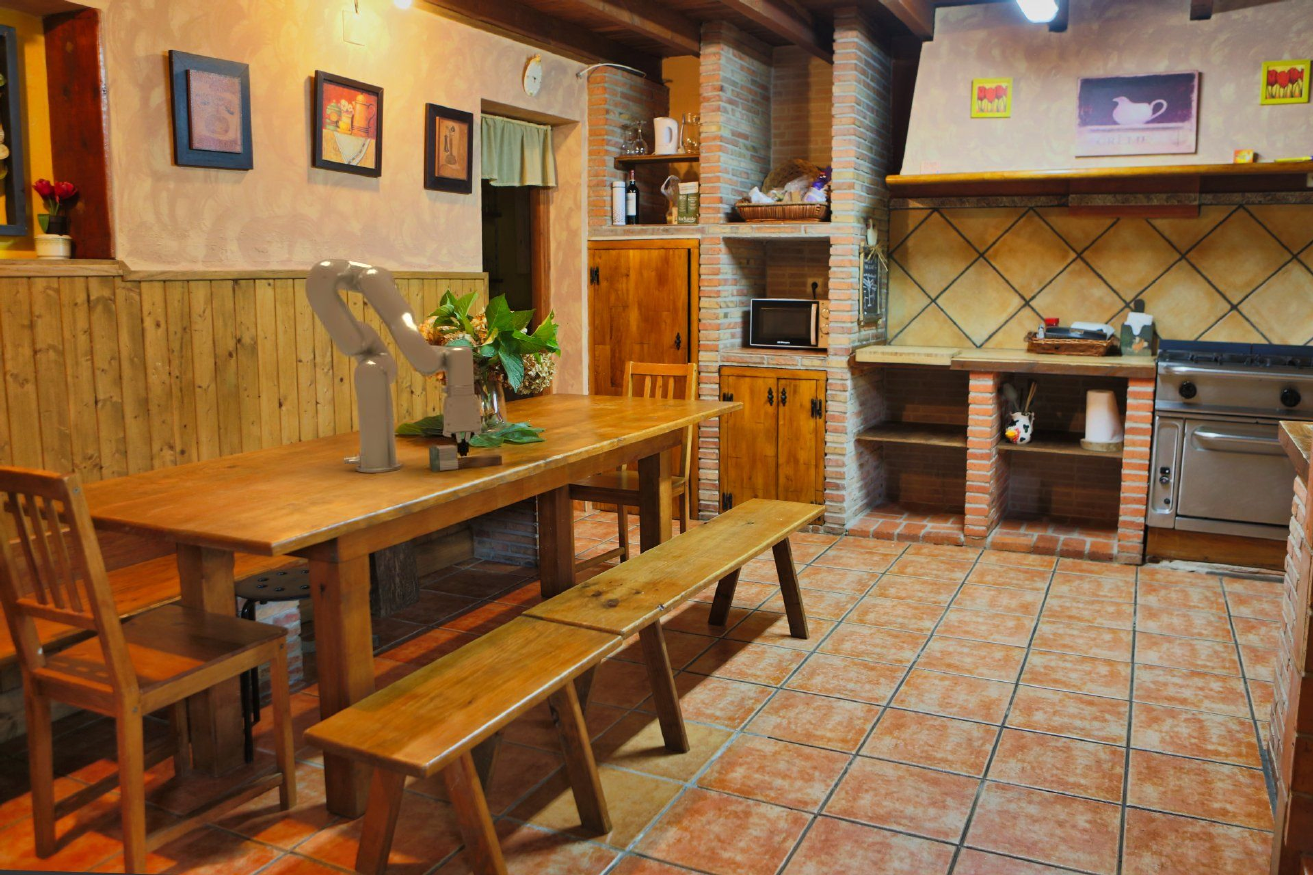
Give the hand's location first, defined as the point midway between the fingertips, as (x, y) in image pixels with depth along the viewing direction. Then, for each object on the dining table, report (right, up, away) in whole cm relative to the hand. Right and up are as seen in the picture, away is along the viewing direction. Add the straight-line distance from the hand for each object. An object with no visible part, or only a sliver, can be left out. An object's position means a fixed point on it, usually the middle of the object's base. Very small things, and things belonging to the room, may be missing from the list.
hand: (463, 455), depth 292 cm
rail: (+2, -3, +1) cm, 4 cm away
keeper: (-4, -3, -1) cm, 6 cm away
